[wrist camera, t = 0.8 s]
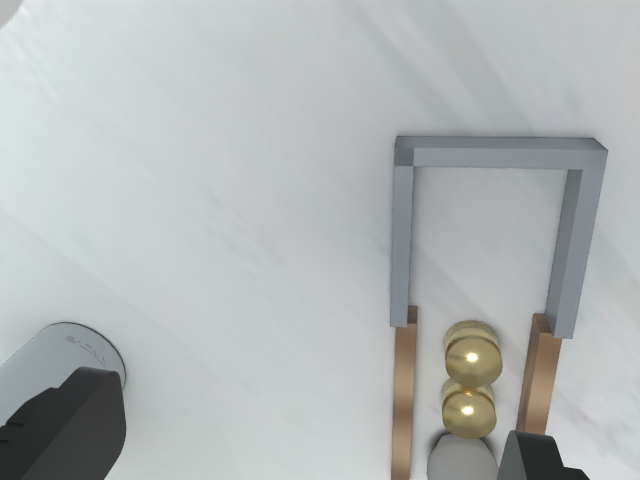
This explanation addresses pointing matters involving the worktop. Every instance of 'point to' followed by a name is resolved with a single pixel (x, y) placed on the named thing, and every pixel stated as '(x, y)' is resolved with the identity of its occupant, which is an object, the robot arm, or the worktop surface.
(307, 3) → the worktop surface
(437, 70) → the worktop surface
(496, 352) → the gold domed cylinder
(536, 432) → the slot rails
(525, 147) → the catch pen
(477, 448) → the salt shaker
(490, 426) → the gold short cylinder
